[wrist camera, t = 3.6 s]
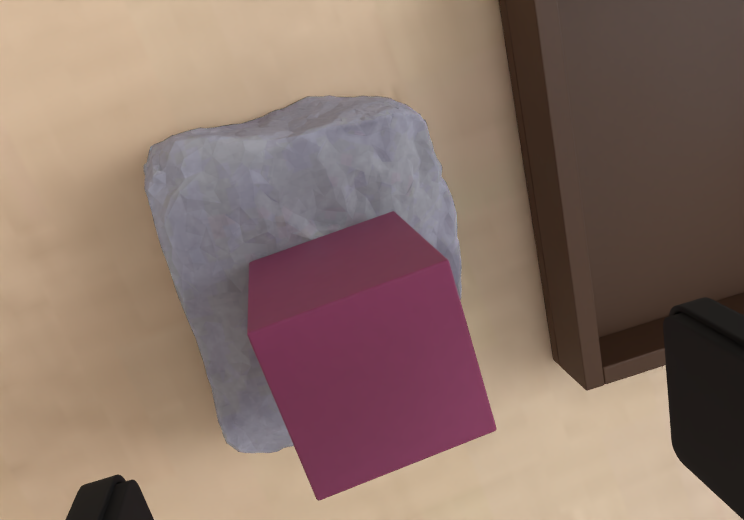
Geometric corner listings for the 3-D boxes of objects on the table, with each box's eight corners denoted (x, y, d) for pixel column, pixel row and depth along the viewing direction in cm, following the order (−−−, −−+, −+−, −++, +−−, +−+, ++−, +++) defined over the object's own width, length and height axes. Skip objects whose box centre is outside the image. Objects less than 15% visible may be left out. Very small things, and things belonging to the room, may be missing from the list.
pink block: (300, 391, 20) (317, 502, 15) (248, 261, 18) (245, 334, 13) (434, 340, 20) (497, 431, 15) (394, 210, 19) (449, 259, 14)
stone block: (388, 74, 23) (121, 138, 20) (449, 71, 19) (123, 152, 16) (437, 342, 27) (222, 428, 24) (497, 389, 23) (245, 501, 20)
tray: (553, 360, 26) (586, 391, 24) (490, -53, 21) (524, -72, 18) (835, 271, 28) (896, 291, 25) (842, -134, 22) (920, -164, 20)
